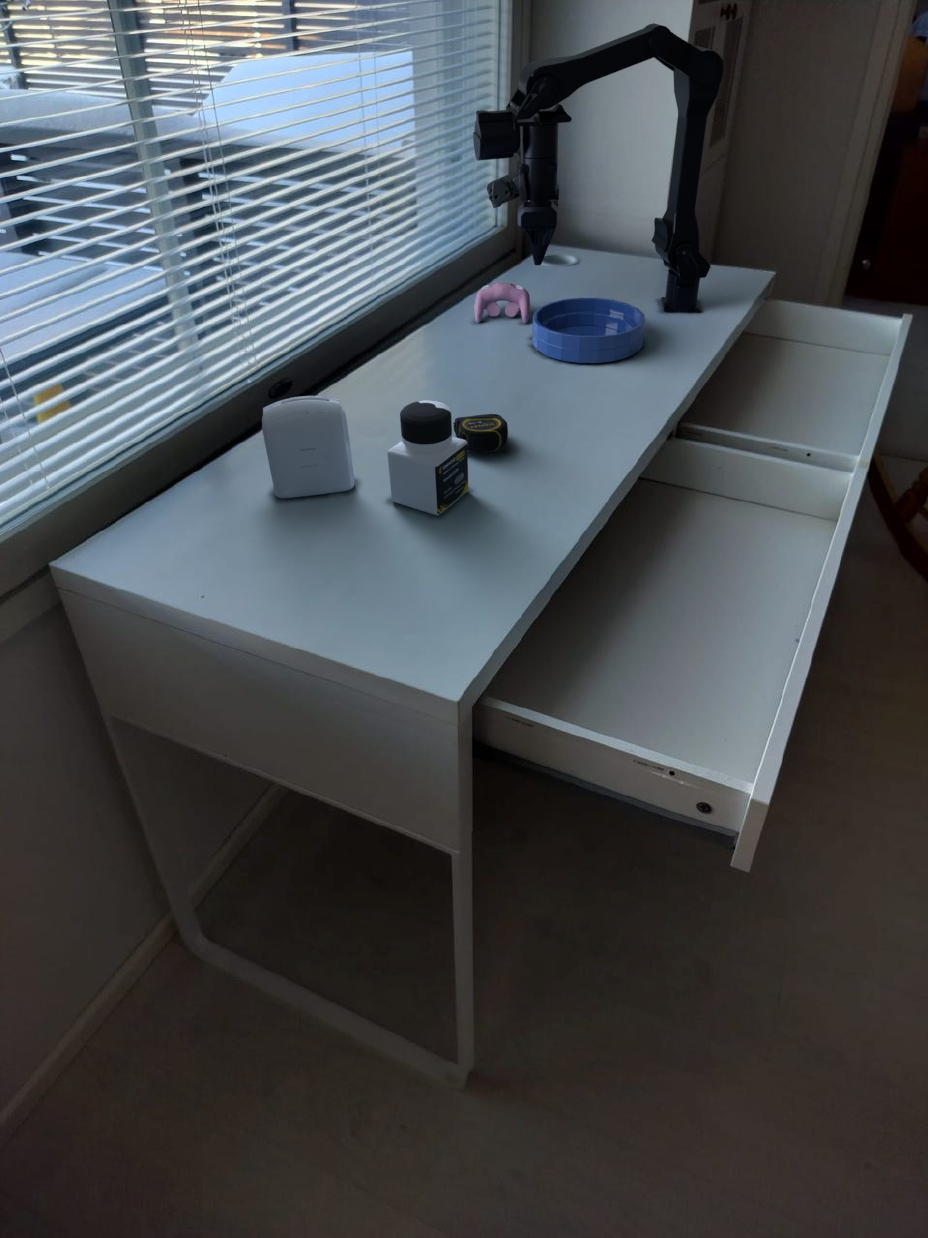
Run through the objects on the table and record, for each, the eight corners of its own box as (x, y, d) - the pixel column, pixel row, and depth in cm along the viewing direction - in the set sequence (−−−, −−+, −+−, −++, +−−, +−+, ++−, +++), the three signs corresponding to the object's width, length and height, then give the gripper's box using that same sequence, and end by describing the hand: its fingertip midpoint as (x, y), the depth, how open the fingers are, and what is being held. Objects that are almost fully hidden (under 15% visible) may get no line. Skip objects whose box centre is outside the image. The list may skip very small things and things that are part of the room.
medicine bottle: (438, 517, 107) (433, 426, 99) (390, 502, 110) (382, 412, 102) (469, 490, 112) (467, 401, 104) (422, 477, 115) (417, 389, 107)
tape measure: (501, 433, 124) (501, 408, 121) (512, 455, 118) (513, 430, 116) (453, 438, 123) (452, 413, 121) (462, 461, 118) (461, 435, 115)
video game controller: (529, 325, 160) (531, 284, 158) (529, 322, 155) (530, 280, 154) (475, 324, 160) (476, 284, 159) (473, 321, 156) (473, 279, 155)
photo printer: (274, 502, 111) (257, 410, 103) (273, 485, 114) (257, 395, 106) (356, 493, 112) (345, 401, 104) (353, 476, 115) (343, 386, 107)
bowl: (534, 322, 156) (535, 297, 154) (638, 323, 155) (641, 297, 152) (530, 363, 142) (531, 336, 140) (645, 365, 141) (648, 337, 138)
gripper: (493, 143, 149) (495, 240, 159) (484, 169, 135) (487, 274, 145) (560, 142, 148) (558, 239, 158) (558, 168, 134) (555, 273, 143)
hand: (538, 256), depth 151 cm, fingers open, 9 cm apart
